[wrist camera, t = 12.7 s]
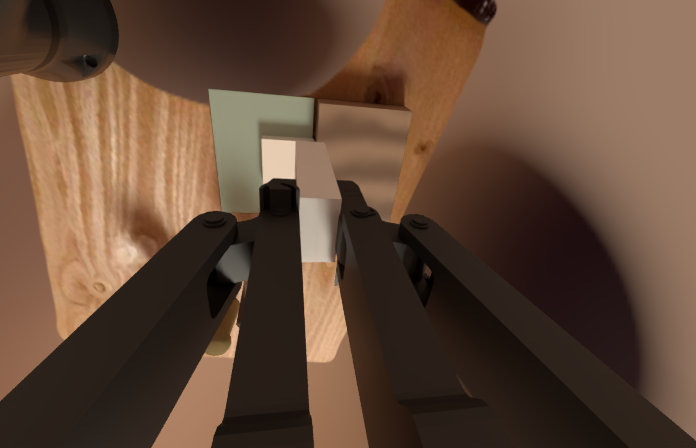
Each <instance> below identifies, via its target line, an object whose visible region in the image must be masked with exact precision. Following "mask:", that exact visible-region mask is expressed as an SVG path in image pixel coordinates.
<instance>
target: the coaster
mask: <svg viewBox="0 0 696 448" xmlns="http://www.w3.org/2000/svg"><path fill="white" fill-rule="evenodd" d="M296 141H309V142H315V141H314V139H313V138H297V137H282V136H266V135H262V168H263V184H265V183H268V182H269V181H270V180H271V179H273V178H281V179H295V144H296Z"/></svg>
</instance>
